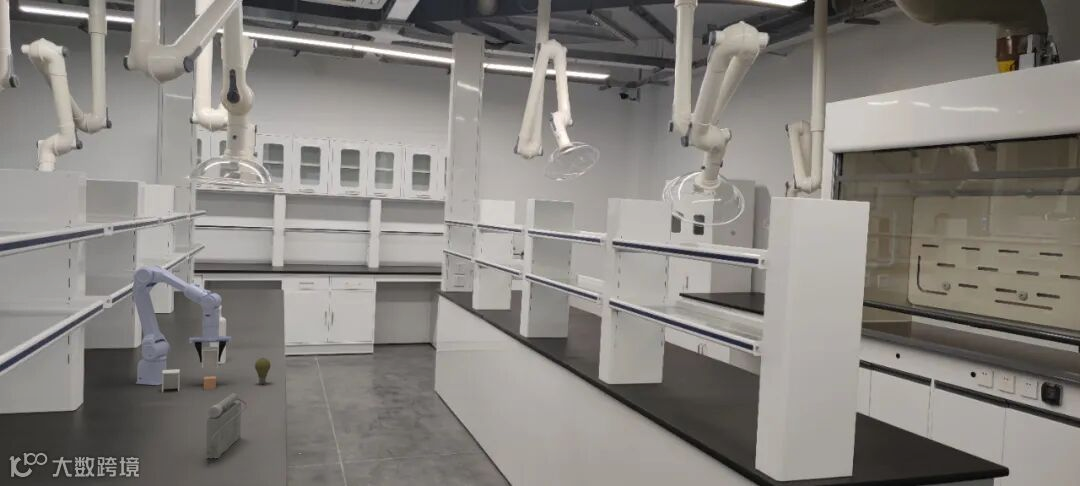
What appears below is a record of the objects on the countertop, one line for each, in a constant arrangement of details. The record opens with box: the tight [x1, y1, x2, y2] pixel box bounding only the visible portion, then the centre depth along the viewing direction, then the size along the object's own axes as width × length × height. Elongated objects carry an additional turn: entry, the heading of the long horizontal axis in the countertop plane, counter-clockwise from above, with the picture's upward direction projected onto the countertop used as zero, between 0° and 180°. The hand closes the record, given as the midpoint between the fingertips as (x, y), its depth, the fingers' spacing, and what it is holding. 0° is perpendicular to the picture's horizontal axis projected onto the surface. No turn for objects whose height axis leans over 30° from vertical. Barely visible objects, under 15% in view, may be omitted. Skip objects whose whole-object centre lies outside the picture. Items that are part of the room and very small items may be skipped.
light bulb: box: [254, 357, 271, 385], centre depth 288 cm, size 6×6×10 cm
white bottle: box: [209, 304, 227, 365], centre depth 323 cm, size 7×12×25 cm, turn 19°
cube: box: [203, 375, 217, 390], centre depth 279 cm, size 4×4×4 cm
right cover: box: [201, 346, 219, 369], centre depth 284 cm, size 6×6×7 cm
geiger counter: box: [205, 392, 248, 459], centre depth 209 cm, size 14×6×25 cm
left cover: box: [161, 368, 181, 393], centre depth 274 cm, size 6×6×7 cm
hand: (210, 361), depth 284 cm, fingers closed on right cover, 6 cm apart
